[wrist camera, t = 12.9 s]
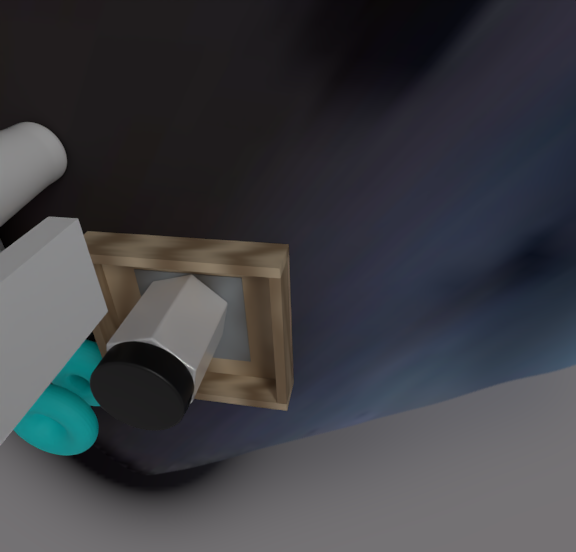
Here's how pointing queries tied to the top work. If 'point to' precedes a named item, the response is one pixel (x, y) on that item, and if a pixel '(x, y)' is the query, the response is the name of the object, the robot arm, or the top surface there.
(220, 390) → the crate
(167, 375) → the jar
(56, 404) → the donuts
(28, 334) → the robot arm
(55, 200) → the top surface
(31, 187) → the light grey cylinder
